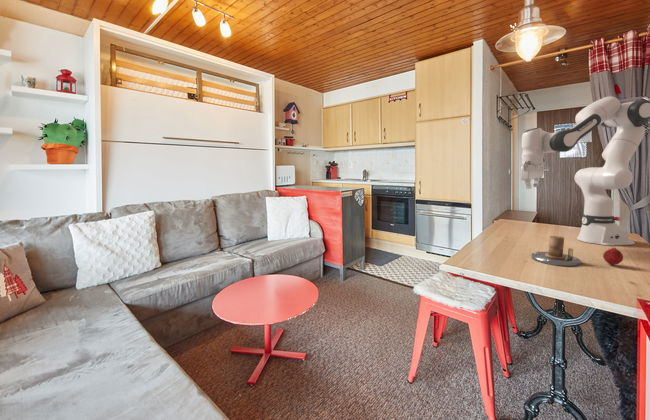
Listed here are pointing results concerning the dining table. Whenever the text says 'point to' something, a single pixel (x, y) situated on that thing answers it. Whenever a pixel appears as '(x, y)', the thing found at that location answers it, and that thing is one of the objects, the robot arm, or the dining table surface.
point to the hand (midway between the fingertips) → (532, 187)
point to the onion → (613, 256)
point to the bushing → (556, 248)
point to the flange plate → (568, 260)
